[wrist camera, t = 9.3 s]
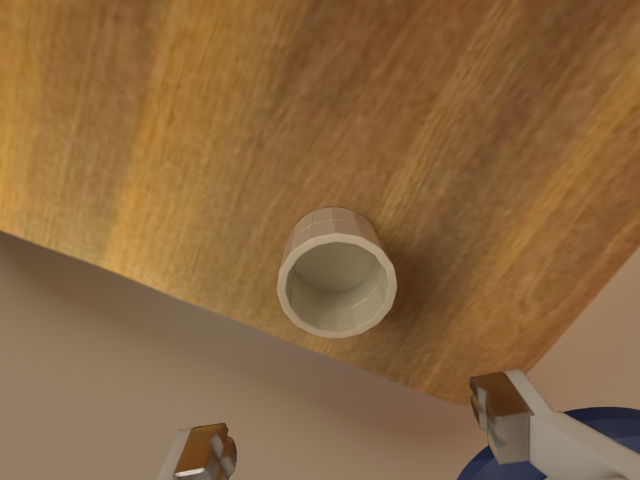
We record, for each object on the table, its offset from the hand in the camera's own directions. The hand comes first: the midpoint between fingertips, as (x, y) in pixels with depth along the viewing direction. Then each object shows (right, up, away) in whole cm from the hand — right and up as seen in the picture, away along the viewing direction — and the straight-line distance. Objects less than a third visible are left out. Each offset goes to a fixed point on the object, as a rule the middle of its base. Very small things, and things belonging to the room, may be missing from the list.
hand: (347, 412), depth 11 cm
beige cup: (0, +5, +12) cm, 13 cm away
